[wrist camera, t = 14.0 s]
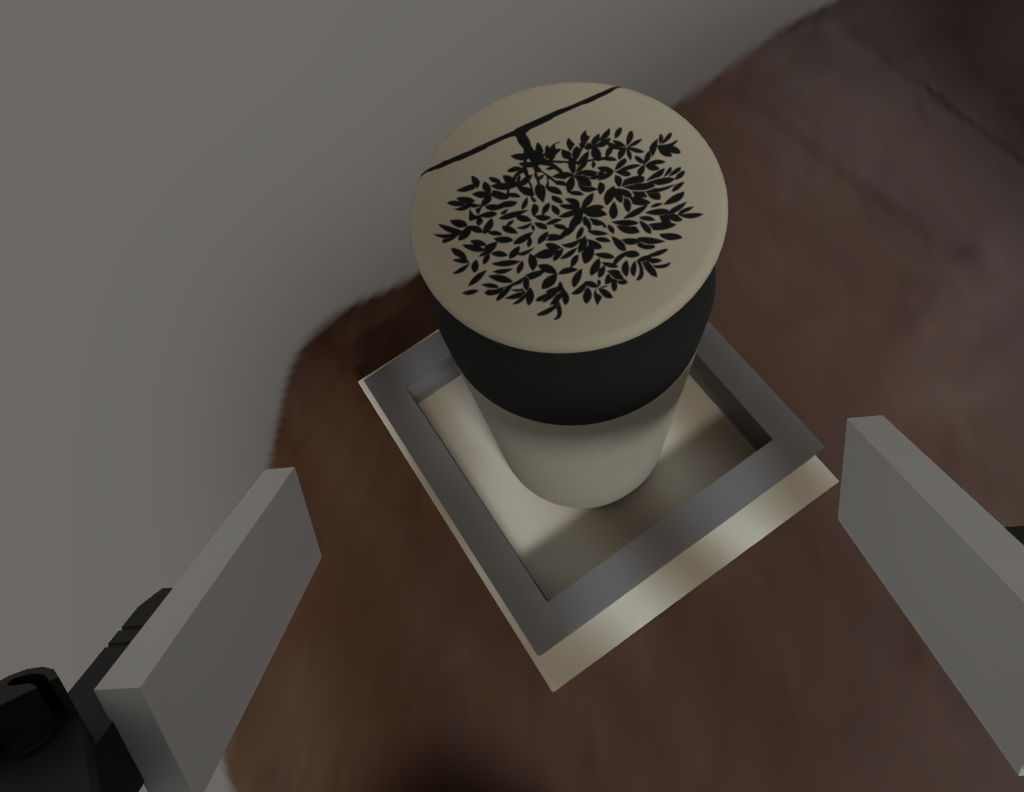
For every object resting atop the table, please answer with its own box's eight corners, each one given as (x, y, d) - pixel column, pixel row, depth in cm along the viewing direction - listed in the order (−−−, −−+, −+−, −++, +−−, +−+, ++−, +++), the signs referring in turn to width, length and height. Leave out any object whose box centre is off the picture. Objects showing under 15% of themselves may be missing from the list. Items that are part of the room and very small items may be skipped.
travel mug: (687, 481, 30) (801, 293, 14) (525, 530, 30) (439, 403, 14) (631, 336, 33) (667, 32, 16) (483, 381, 33) (369, 125, 17)
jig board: (601, 237, 37) (602, 193, 34) (828, 488, 31) (859, 468, 27) (367, 391, 36) (340, 363, 32) (555, 689, 29) (549, 697, 26)
